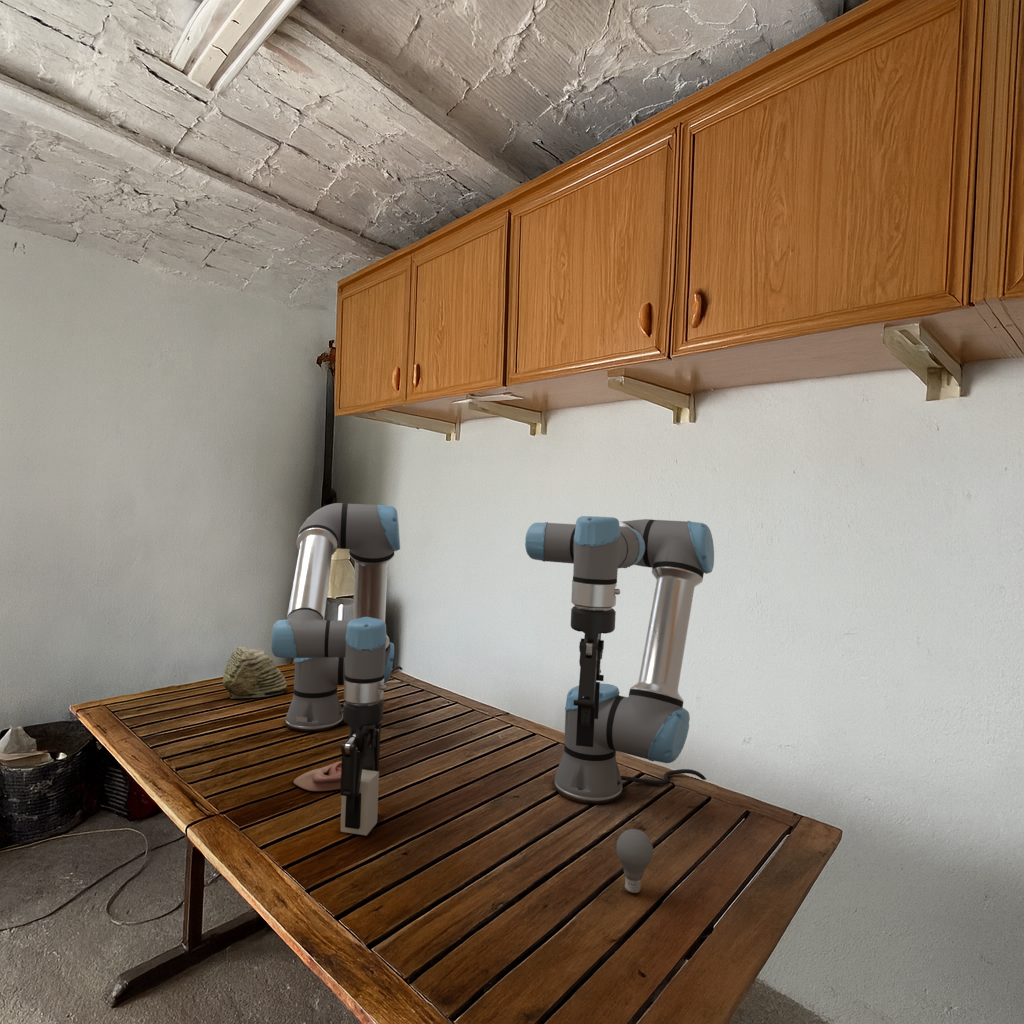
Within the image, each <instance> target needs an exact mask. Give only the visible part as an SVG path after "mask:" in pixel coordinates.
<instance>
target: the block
mask: <svg viewBox="0 0 1024 1024" xmlns="http://www.w3.org/2000/svg"><path fill="white" fill-rule="evenodd" d="M379 784H380V771H371V770H363V769H362V775H361V782H360V790H359V793H361V816H360V828H359V829H353V828H346V827H345V814H346V796H342V795H341V804H340V829H339V830H340V832H341V833H348V834H354V835H361V836H368V835H369V834H370V832H371V831H372V830H373V829H374V827H375V826H376V825H377V823H378V814H379V813H378V812H379V811H378V810H379V787H380V786H379Z"/></svg>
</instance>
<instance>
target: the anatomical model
mask: <svg viewBox="0 0 1024 1024" xmlns="http://www.w3.org/2000/svg"><path fill="white" fill-rule="evenodd" d="M341 766H342V760H340V761H336V762H333V763H331V764H328V765H326V766H323V767H321V768H320V767H319V768H315V769H313V770H309V771H307V772H304V773H303V774H301V775H299V776H297V777H296V778H294V779H293V784H294V785H295V786H297V787H299V788H301V789H304V790H306V791H309V792H326V791H335V790H340V788H341Z"/></svg>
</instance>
